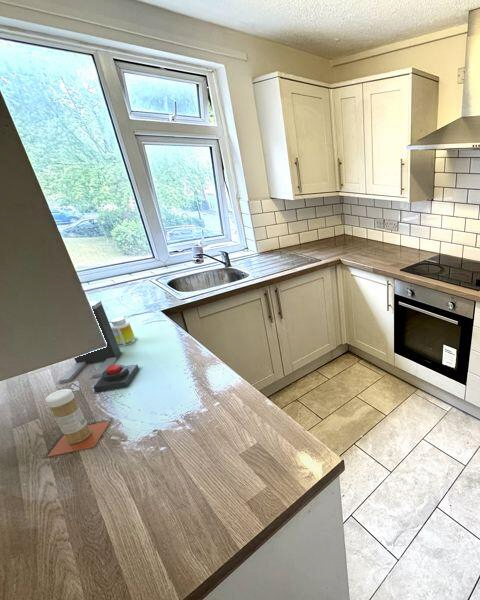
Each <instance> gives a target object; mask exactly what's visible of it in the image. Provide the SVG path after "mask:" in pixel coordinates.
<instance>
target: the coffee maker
mask: <svg viewBox="0 0 480 600" xmlns="http://www.w3.org/2000/svg"><path fill="white" fill-rule="evenodd" d="M89 302H90V304H91V306H92V309H93V311H94V314H95V316H96V319H97V321H98V323H99V326H100V328H101V330H102V333H103V335H104V338H105V340H106V342H107V347H106V348H103V349H100V350H97V351H94V352H91V353H88V354H86V355H83V356H79V357H77V358H74V357H73V359H74V361H75V364H74V365H73V366H71V367H70V369H69V370H68V371H67V372H65V374H64V375H63V376H61V378H60V379H59V380H58V381H59V383H60V384H63V383H69V382H72V380H74V378H75V377H76V376H77V375H78V374H79V373H80V372H81V371H82V369H84V367H86V365H89V364H96V363H102V362H103V363H102V364H100V366H99V367H98V368H97V369H96V370H95V372H94V373H93V374H92V377H93V378H101V377H102V373H103V372H104V371H105V370H107V368H108V367H109V366H111V365H114V364H115V362H116V361H117V360H118V358H120V356H121V355H122V352H121V348H120V346H119V345H118V344H117V341H116V339H115V336H114V334H113V331H112V329H111V324H110V321H109V318H108V316H107V314H106V312H105V309H104V305H103V304H102V301H101V300H94V301H89Z"/></svg>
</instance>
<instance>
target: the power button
mask: <svg viewBox="0 0 480 600" xmlns="http://www.w3.org/2000/svg"><path fill="white" fill-rule="evenodd" d="M120 365H121V364H119V363H114V364H113V365H111V366H109V367H108V368H107V372H108V374H109V375H111V374H115V373H118V372H120V371H121V367H120Z"/></svg>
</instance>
